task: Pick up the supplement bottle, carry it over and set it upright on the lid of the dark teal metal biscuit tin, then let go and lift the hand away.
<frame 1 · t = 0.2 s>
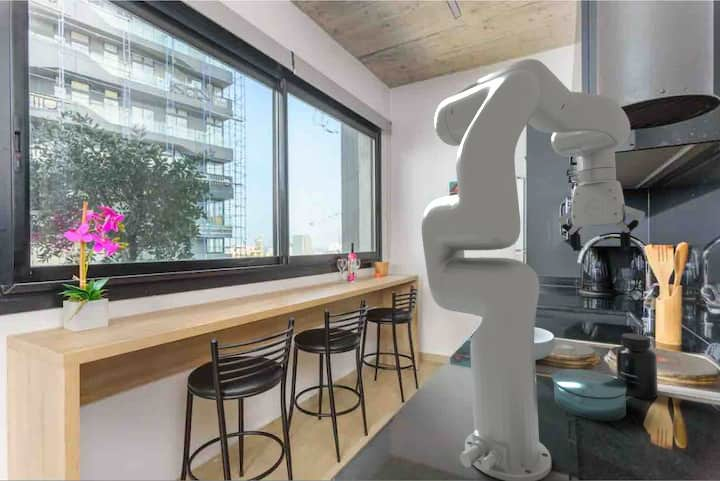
hand: (599, 250, 83), 30 cm above the worktop, tool pointing down, fingers open, 9 cm apart
cereal bowl: (521, 358, 98), on the worktop
supplement bottle: (637, 393, 74), on the worktop
biscuit tin: (588, 405, 70), on the worktop
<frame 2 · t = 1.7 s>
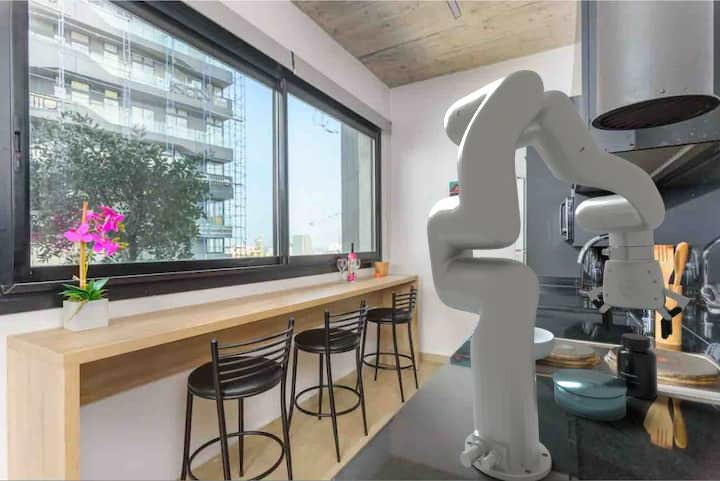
hand: (636, 333, 75), 12 cm above the worktop, tool pointing down, fingers open, 9 cm apart
nothing on the worktop moved.
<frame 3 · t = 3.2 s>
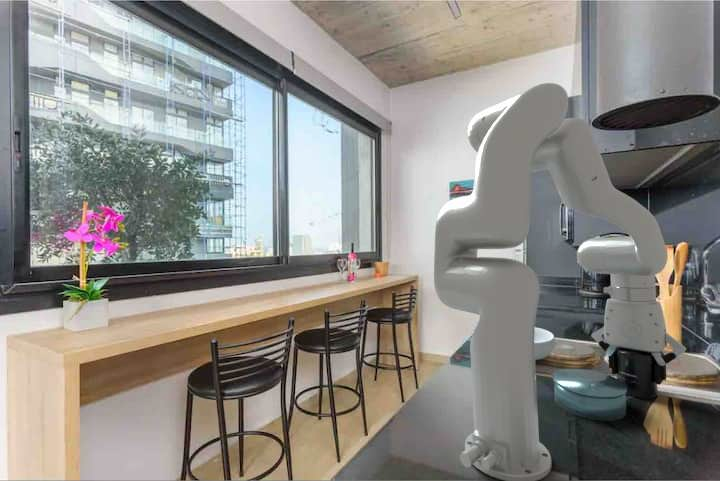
hand: (636, 376, 74), 3 cm above the worktop, tool pointing down, fingers closed on supplement bottle, 6 cm apart
supplement bottle: (637, 392, 74), on the worktop, touching gripper
everything else where it was.
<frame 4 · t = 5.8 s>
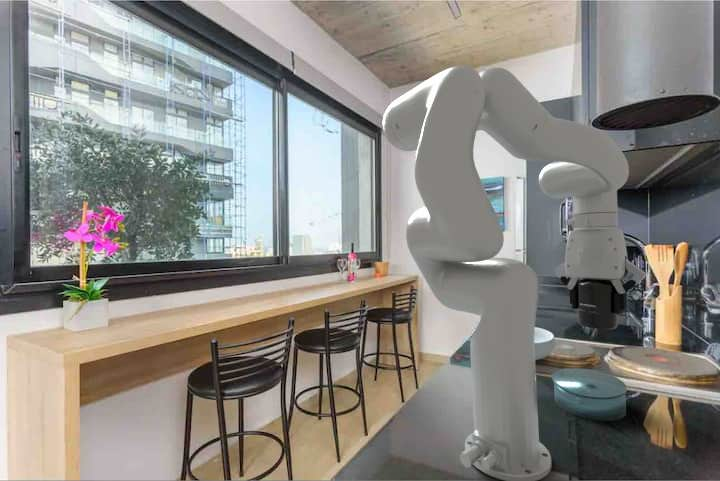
hand: (597, 309, 71), 19 cm above the worktop, tool pointing down, fingers closed on supplement bottle, 6 cm apart
supplement bottle: (597, 326, 71), point 15 cm above the worktop, touching gripper
everything else where it was.
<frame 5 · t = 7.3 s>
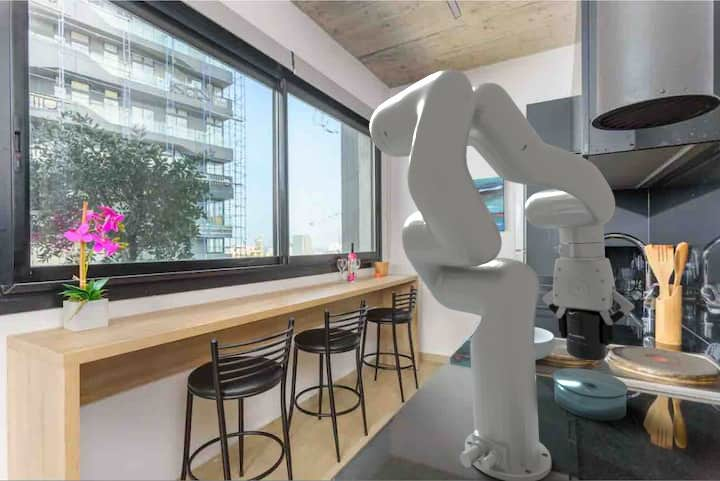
hand: (586, 339, 70), 13 cm above the worktop, tool pointing down, fingers closed on supplement bottle, 6 cm apart
supplement bottle: (586, 356, 70), point 10 cm above the worktop, touching gripper
everything else where it was.
when the fingers open (10 cm above the worktop, at t = 8.4 s): supplement bottle drops 2 cm, point 5 cm above the worktop.
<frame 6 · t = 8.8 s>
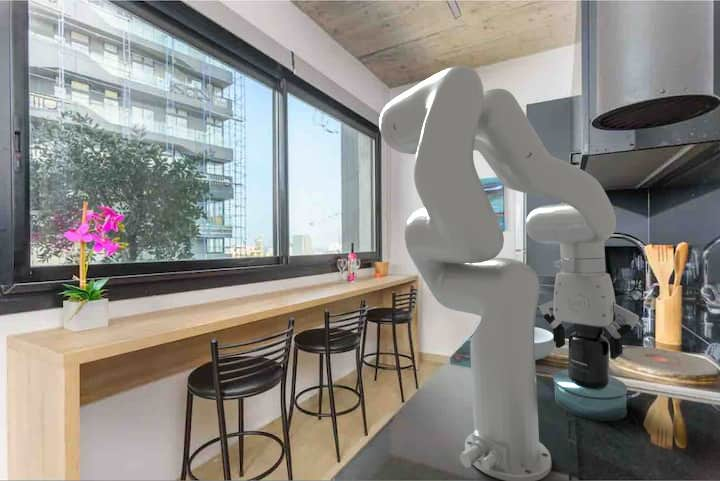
hand: (586, 351, 70), 11 cm above the worktop, tool pointing down, fingers open, 9 cm apart
supplement bottle: (588, 382, 70), point 5 cm above the worktop
everything else where it was.
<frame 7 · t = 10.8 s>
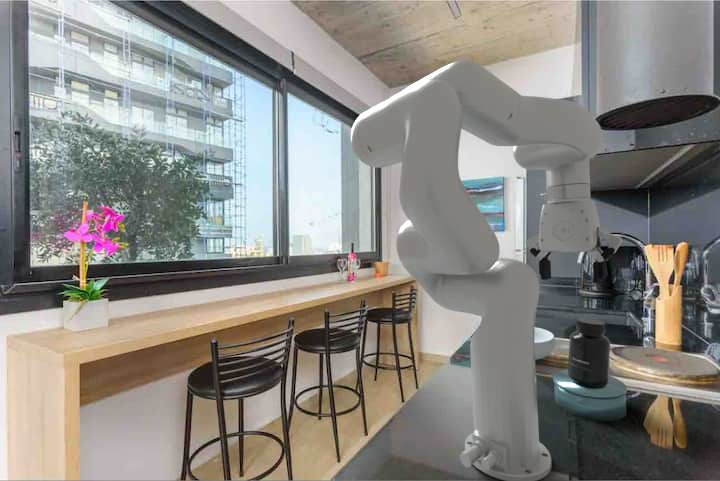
hand: (571, 280, 70), 25 cm above the worktop, tool pointing down, fingers open, 9 cm apart
supplement bottle: (587, 381, 70), point 5 cm above the worktop, touching biscuit tin
biscuit tin: (589, 405, 70), on the worktop, touching supplement bottle
everything else where it was.
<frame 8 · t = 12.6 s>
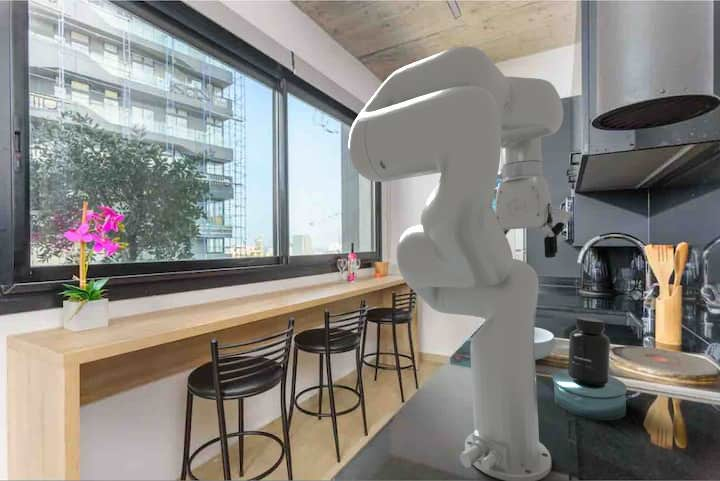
hand: (525, 256, 72), 30 cm above the worktop, tool pointing down, fingers open, 9 cm apart
supplement bottle: (588, 380, 70), point 5 cm above the worktop
biscuit tin: (588, 405, 70), on the worktop
everything else where it was.
at the end: supplement bottle inside the target area on the biscuit tin (0.3 cm from its centre), point 5.3 cm above the biscuit tin's base; supplement bottle tilted 8°; the gripper is holding nothing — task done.
